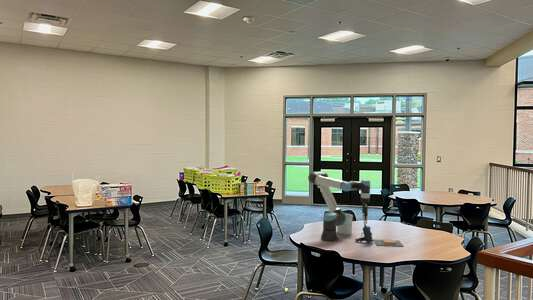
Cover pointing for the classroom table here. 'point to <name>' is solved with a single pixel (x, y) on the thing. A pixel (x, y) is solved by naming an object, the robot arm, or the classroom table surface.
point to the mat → (380, 243)
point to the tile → (388, 241)
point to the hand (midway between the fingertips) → (364, 222)
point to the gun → (366, 235)
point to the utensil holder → (346, 226)
